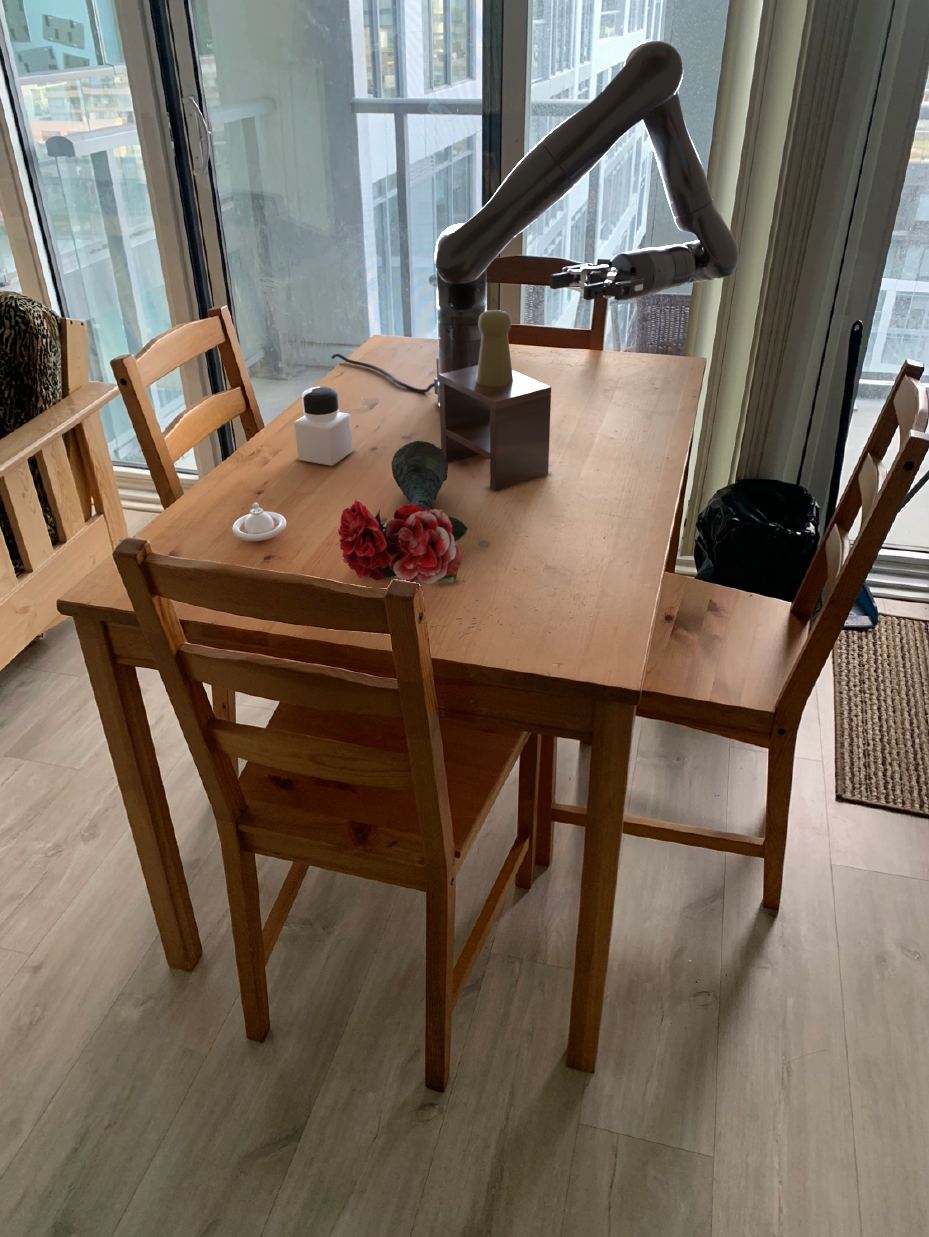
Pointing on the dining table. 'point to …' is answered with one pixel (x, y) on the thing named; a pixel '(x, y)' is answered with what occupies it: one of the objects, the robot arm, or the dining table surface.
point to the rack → (497, 424)
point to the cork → (494, 349)
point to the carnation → (406, 525)
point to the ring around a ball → (259, 525)
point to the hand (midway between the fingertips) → (567, 287)
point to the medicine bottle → (322, 428)
